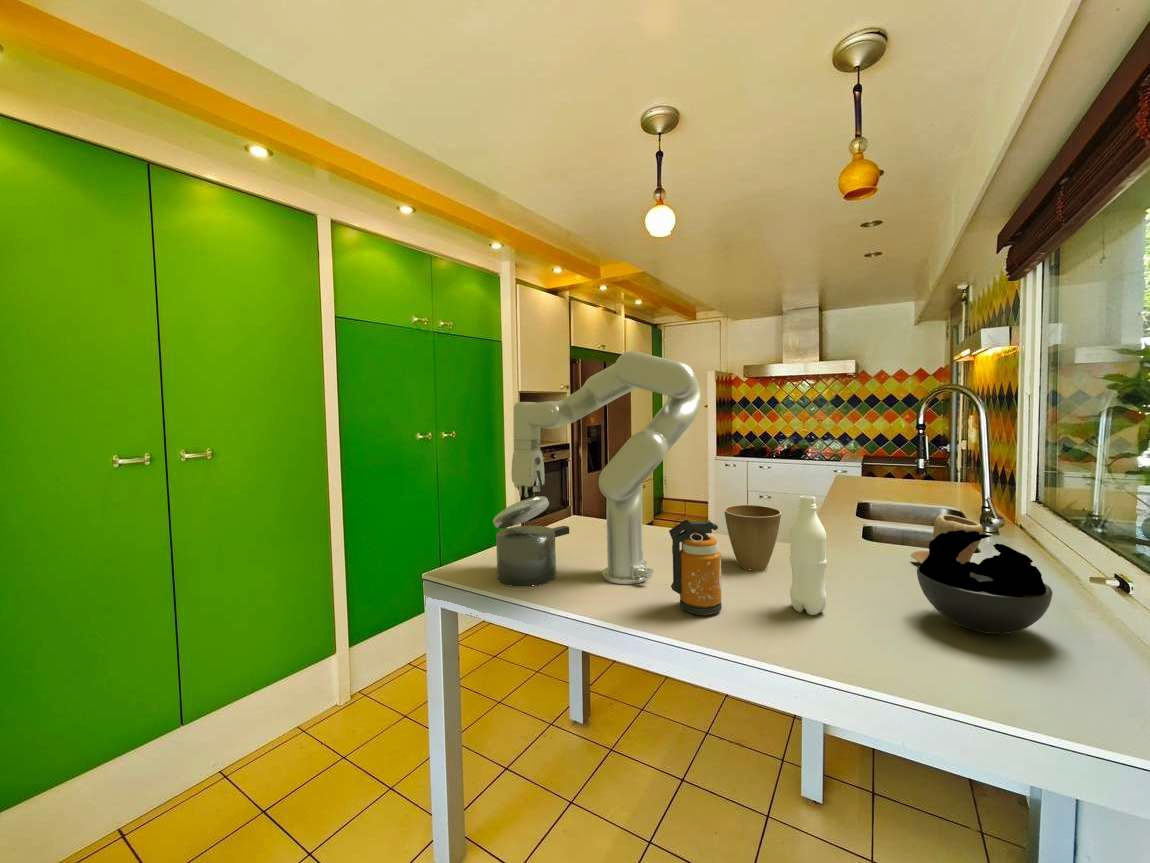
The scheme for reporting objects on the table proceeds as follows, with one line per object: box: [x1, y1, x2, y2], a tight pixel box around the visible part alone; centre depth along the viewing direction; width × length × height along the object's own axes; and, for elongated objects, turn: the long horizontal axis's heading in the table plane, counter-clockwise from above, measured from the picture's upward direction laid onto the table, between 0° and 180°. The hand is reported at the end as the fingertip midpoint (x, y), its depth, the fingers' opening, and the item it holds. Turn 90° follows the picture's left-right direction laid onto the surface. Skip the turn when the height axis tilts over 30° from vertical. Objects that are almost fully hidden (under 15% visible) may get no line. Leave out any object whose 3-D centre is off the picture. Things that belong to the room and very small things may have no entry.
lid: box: [492, 495, 550, 529], centre depth 130 cm, size 16×16×3 cm
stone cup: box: [910, 513, 984, 565], centre depth 123 cm, size 15×12×15 cm
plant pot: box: [723, 504, 782, 571], centre depth 131 cm, size 15×15×16 cm
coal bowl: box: [916, 530, 1053, 634], centre depth 92 cm, size 20×20×19 cm
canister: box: [668, 519, 723, 616], centre depth 105 cm, size 9×11×20 cm
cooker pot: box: [495, 525, 570, 587], centre depth 132 cm, size 18×23×12 cm
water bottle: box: [789, 495, 828, 616], centre depth 102 cm, size 7×7×25 cm
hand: (526, 510), depth 133 cm, fingers closed
